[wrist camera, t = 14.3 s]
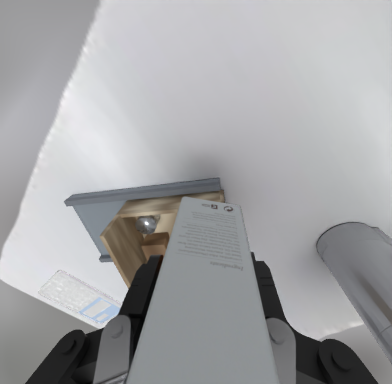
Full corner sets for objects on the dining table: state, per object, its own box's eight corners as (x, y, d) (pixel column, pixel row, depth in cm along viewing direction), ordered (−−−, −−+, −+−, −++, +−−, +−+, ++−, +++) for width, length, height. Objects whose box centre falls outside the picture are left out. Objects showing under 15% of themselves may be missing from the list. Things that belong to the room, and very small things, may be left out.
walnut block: (167, 232, 32) (164, 244, 29) (172, 248, 34) (169, 261, 31) (146, 233, 33) (141, 246, 30) (152, 249, 34) (148, 262, 32)
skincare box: (180, 193, 13) (22, 692, 2) (241, 203, 13) (380, 755, 2) (174, 253, 16) (94, 585, 5) (222, 261, 16) (243, 610, 5)
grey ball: (157, 206, 29) (151, 217, 27) (162, 221, 31) (158, 233, 28) (139, 208, 30) (132, 219, 27) (145, 223, 31) (139, 235, 29)
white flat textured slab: (61, 266, 44) (55, 273, 42) (128, 304, 50) (125, 311, 48) (40, 287, 49) (34, 294, 47) (103, 319, 55) (100, 326, 53)
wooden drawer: (223, 190, 28) (227, 226, 20) (229, 246, 33) (234, 290, 26) (127, 200, 30) (99, 236, 23) (147, 250, 36) (131, 293, 28)
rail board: (219, 178, 28) (219, 184, 26) (226, 246, 35) (227, 255, 33) (72, 194, 32) (63, 201, 30) (106, 253, 39) (100, 262, 37)
